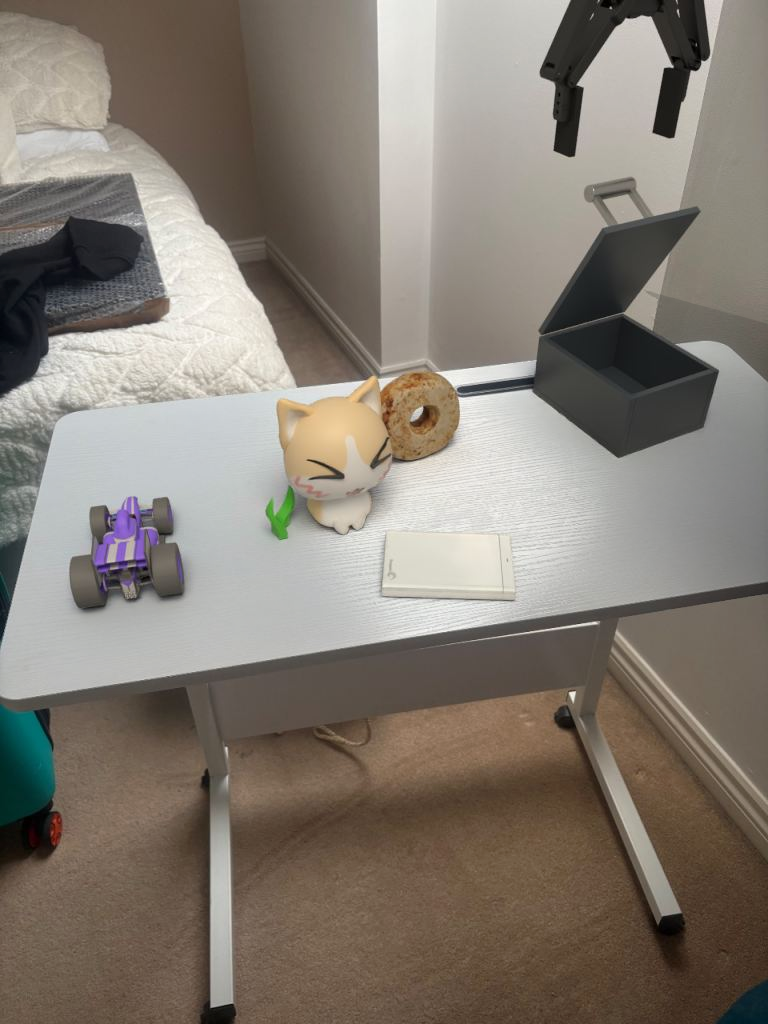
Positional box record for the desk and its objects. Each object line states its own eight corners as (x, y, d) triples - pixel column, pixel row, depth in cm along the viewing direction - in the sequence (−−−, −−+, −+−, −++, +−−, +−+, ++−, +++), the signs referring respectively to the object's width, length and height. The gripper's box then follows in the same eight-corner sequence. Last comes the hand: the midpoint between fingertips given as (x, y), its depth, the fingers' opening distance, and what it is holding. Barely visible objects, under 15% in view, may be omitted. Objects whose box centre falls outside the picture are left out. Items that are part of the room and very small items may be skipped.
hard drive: (381, 586, 77) (516, 589, 76) (385, 528, 83) (510, 531, 82) (381, 598, 78) (514, 602, 77) (386, 540, 84) (509, 543, 84)
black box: (703, 427, 99) (719, 370, 94) (618, 458, 95) (630, 399, 90) (612, 366, 111) (622, 312, 106) (532, 391, 106) (538, 336, 101)
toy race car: (182, 505, 89) (171, 455, 85) (185, 603, 78) (173, 551, 73) (90, 517, 87) (74, 467, 83) (79, 619, 76) (61, 567, 72)
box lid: (701, 211, 90) (662, 156, 92) (606, 233, 85) (568, 175, 88) (624, 312, 105) (593, 263, 108) (541, 335, 101) (510, 283, 103)
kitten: (285, 567, 81) (270, 440, 72) (253, 509, 88) (236, 386, 79) (421, 524, 86) (424, 400, 77) (380, 472, 93) (378, 352, 84)
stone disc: (383, 473, 93) (382, 396, 87) (369, 456, 95) (367, 380, 89) (463, 449, 96) (468, 374, 90) (448, 433, 99) (452, 359, 93)
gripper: (722, -108, 83) (677, 120, 96) (516, -98, 74) (498, 152, 87) (783, -105, 78) (726, 136, 91) (569, -94, 69) (541, 171, 82)
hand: (614, 144), depth 89 cm, fingers open, 13 cm apart
